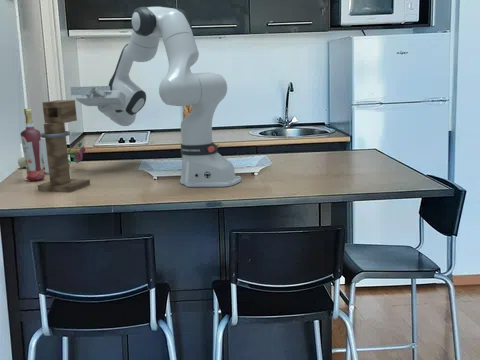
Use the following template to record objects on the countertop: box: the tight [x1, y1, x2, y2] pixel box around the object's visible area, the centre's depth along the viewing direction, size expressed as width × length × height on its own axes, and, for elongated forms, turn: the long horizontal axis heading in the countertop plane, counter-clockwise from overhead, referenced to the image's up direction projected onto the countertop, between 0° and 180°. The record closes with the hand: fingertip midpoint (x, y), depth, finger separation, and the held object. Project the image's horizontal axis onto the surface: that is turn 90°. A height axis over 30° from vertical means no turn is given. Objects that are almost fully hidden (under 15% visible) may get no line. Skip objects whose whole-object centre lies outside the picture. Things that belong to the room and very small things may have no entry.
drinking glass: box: [41, 137, 49, 175], centre depth 250 cm, size 7×7×15 cm
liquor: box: [20, 108, 45, 182], centre depth 235 cm, size 7×7×28 cm
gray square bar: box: [70, 85, 110, 96], centre depth 235 cm, size 3×22×3 cm, turn 159°
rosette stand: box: [37, 99, 91, 193], centre depth 218 cm, size 14×13×31 cm
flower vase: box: [17, 140, 86, 169], centre depth 260 cm, size 12×12×35 cm
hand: (90, 89), depth 234 cm, fingers closed on gray square bar, 3 cm apart
